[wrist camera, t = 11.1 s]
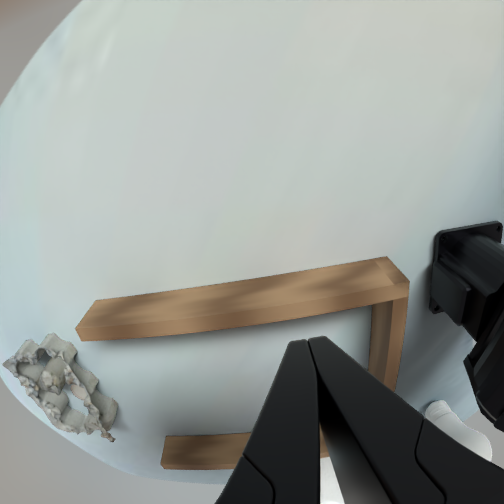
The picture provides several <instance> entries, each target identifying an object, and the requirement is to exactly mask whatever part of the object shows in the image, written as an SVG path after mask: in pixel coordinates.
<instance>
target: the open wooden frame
mask: <svg viewBox="0 0 504 504" xmlns="http://www.w3.org/2000/svg"><path fill="white" fill-rule="evenodd" d="M409 283H410V281H409V280H408V279H407V278H406V277H405V275H404V274H403V273H402V272H401V271H400V270H399V269H398V268H397V267H396V266H395V265H394V264H393V262H392V261H391V260H390V259H389V258H388V257H387V256H386V257H380V258H375V259H369V260H363V261H358V262H352V263H346V264H340V265H335V266H329V267H323V268H317V269H311V270H305V271H299V272H293V273H286V274H280V275H274V276H268V277H261V278H255V279H248V280H242V281H235V282H228V283H222V284H215V285H208V286H201V287H194V288H187V289H180V290H173V291H165V292H158V293H151V294H143V295H135V296H128V297H120V298H112V299H104V300H96V301H95V302H94V303H93V305H92V306H91V307H90V309H89V310H88V312H87V313H86V314H85V316H84V317H83V318H82V320H81V321H80V323H79V324H78V325H77V327H76V328H75V329H76V331H77V333H78V335H79V337H80V339H81V341H100V340H116V339H130V338H143V337H155V336H166V335H176V334H186V333H195V332H204V331H213V330H221V329H229V328H236V327H244V326H251V325H258V324H265V323H271V322H278V321H284V320H290V319H296V318H302V317H308V316H314V315H320V314H325V313H331V312H336V311H341V310H346V309H352V308H357V307H362V306H366V305H371V304H372V322H371V340H370V354H369V366H368V372H370V373H371V374H372V375H373V376H375V377H376V378H377V379H378V380H379V381H381V382H382V383H383V384H384V385H386V386H387V387H388V388H389V389H391V390H392V391H393V392H395V387H396V382H397V376H398V371H399V365H400V359H401V353H402V346H403V339H404V332H405V324H406V315H407V306H408V296H409ZM250 435H251V432H249V433H238V434H224V435H204V436H166V439H165V444H164V449H163V454H162V459H161V466H162V467H163V468H164V469H177V470H217V469H235V467H236V464H237V462H238V460H239V458H240V457H241V456H242V452H243V450H244V448H245V446H246V443H247V441H248V439H249V437H250ZM326 457H330V456H329V453H328V450H327V447H326V443H325V440H324V437H323V434H322V431H321V427H320V459H321V458H326Z"/></svg>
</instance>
